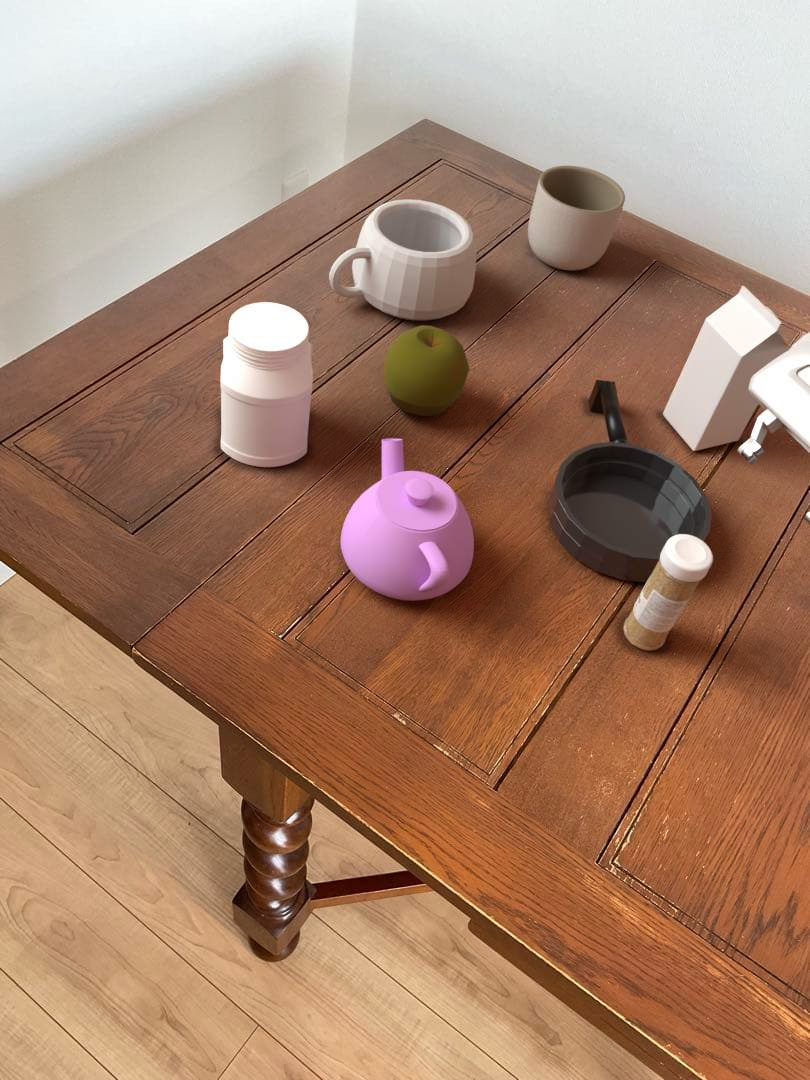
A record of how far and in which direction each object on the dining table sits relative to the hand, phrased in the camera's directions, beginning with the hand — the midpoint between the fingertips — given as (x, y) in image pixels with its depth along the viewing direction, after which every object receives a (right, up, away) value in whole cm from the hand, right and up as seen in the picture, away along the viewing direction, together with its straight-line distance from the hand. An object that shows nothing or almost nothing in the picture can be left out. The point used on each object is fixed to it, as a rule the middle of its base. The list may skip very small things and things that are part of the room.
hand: (775, 490), depth 92 cm
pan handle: (-11, +8, +27) cm, 30 cm away
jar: (-51, +7, +20) cm, 55 cm away
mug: (-36, +29, +41) cm, 62 cm away
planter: (-12, +38, +53) cm, 66 cm away
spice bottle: (-11, -15, +8) cm, 20 cm away
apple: (-33, +12, +27) cm, 44 cm away
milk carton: (+2, +9, +31) cm, 33 cm away
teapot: (-35, -6, +11) cm, 37 cm away
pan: (-11, -3, +18) cm, 21 cm away
